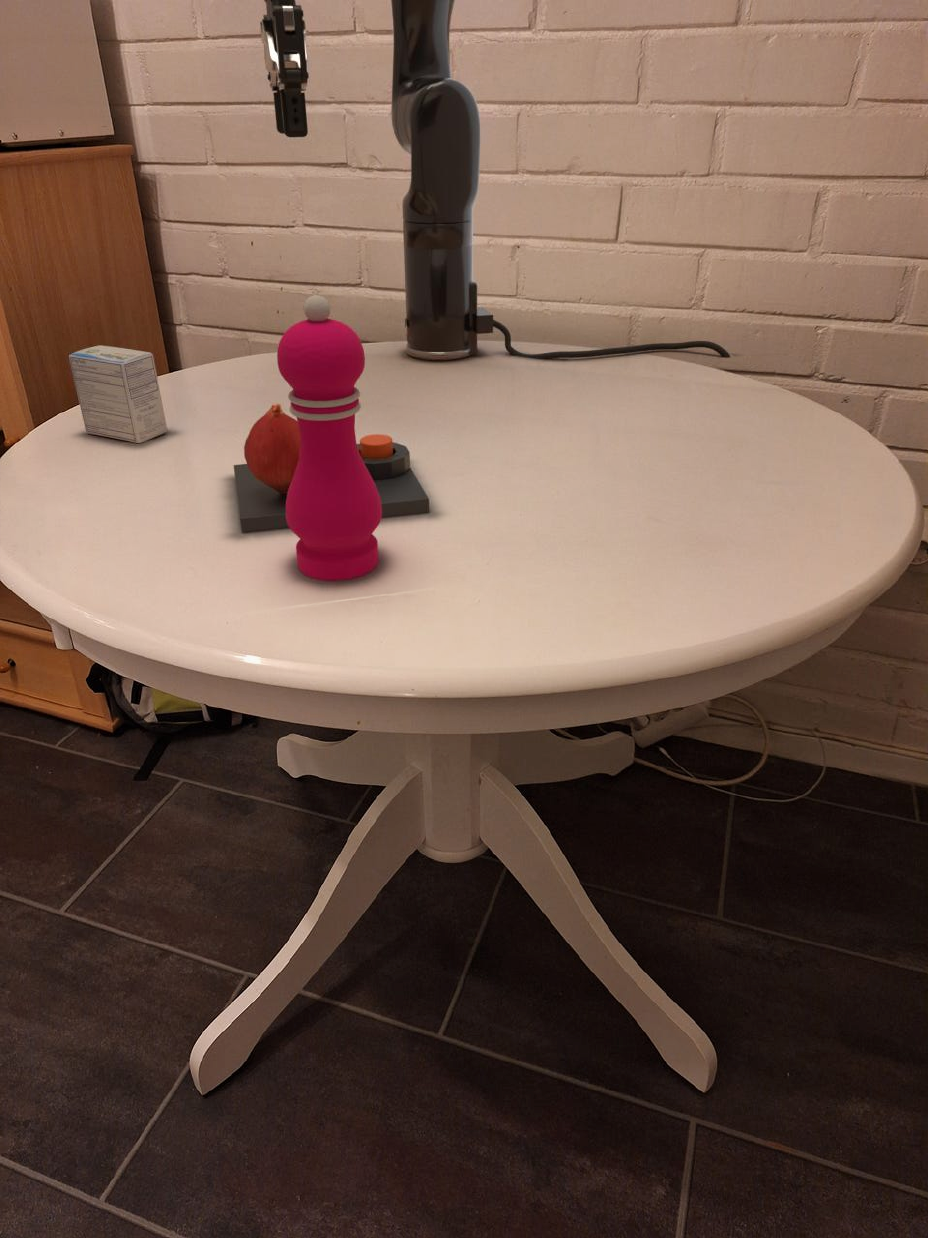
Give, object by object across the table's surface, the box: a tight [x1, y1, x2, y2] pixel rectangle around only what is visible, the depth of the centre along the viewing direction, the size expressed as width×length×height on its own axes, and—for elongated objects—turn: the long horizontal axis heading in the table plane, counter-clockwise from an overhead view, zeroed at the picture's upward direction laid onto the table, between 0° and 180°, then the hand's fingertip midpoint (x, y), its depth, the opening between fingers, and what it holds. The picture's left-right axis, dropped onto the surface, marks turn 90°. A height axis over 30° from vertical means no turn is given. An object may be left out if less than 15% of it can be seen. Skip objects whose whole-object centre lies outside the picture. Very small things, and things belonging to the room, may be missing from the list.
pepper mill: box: [276, 294, 383, 582], centre depth 66 cm, size 7×7×20 cm
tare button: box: [359, 433, 394, 459], centre depth 84 cm, size 3×3×2 cm
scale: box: [233, 441, 430, 534], centre depth 82 cm, size 16×13×3 cm
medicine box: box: [68, 344, 168, 444], centre depth 96 cm, size 8×4×9 cm, turn 62°
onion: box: [243, 403, 300, 494], centre depth 78 cm, size 6×6×8 cm
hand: (292, 134), depth 91 cm, fingers open, 8 cm apart
